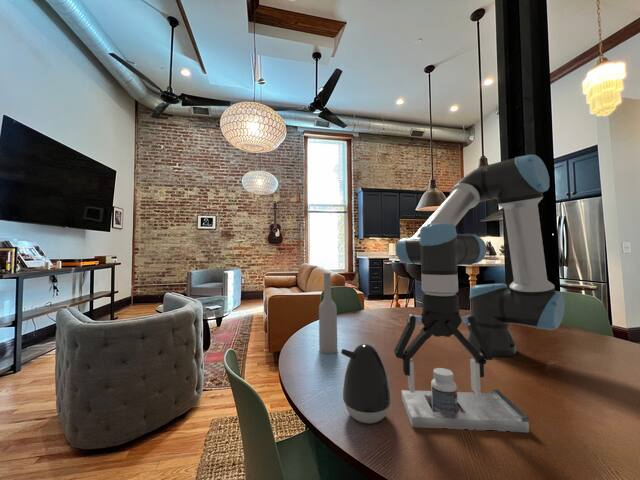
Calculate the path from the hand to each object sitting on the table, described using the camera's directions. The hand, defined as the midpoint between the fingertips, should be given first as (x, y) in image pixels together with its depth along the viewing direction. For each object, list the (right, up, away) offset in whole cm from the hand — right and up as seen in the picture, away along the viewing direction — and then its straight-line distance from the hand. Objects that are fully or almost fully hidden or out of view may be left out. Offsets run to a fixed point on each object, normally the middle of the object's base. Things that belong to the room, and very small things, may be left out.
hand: (443, 391), depth 61 cm
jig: (+3, -5, -1) cm, 6 cm away
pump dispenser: (-17, -5, -1) cm, 18 cm away
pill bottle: (0, -5, 0) cm, 5 cm away
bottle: (-24, -7, +40) cm, 47 cm away
